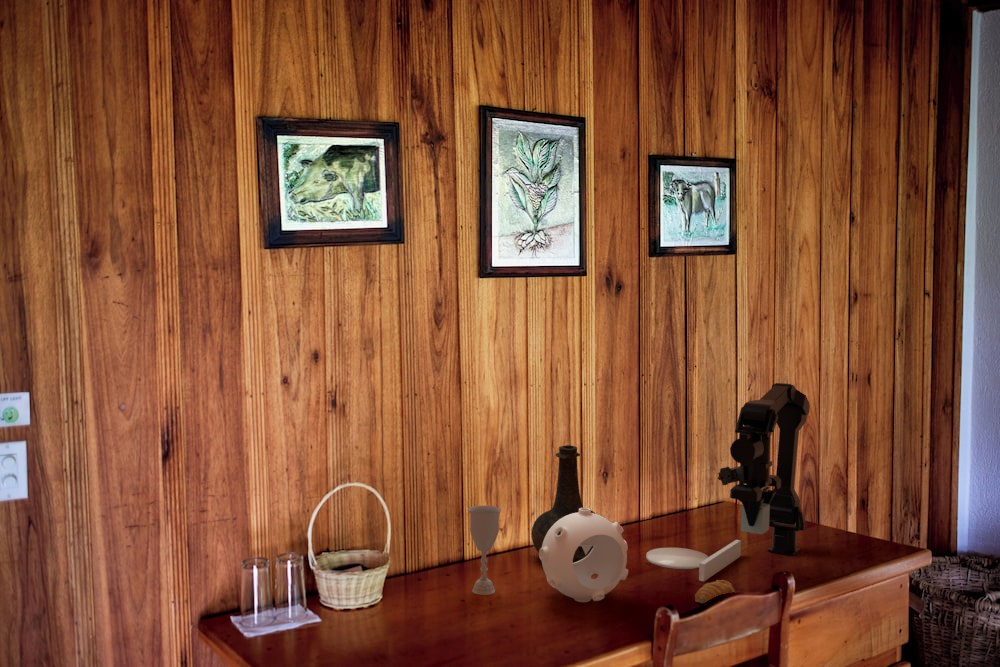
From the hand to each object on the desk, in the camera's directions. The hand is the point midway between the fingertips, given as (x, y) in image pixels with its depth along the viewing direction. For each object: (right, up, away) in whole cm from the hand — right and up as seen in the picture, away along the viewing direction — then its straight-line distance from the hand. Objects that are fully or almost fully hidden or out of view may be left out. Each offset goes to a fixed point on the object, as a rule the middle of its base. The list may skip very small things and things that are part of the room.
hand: (755, 523), depth 218 cm
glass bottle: (-43, -11, +9) cm, 45 cm away
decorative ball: (-42, -13, -18) cm, 47 cm away
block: (0, -2, 0) cm, 2 cm away
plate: (-16, -11, +11) cm, 22 cm away
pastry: (-13, -13, -17) cm, 25 cm away
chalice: (-63, -12, -14) cm, 65 cm away
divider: (-7, -12, +5) cm, 14 cm away
